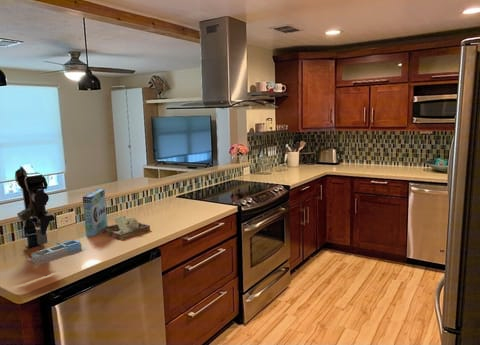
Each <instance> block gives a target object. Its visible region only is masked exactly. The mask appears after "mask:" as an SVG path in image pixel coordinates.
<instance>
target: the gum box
mask: <svg viewBox="0 0 480 345" xmlns="http://www.w3.org/2000/svg"><path fill="white" fill-rule="evenodd" d="M105 194H106V193H105V189H99V188H98V189H95V190H93V191H92V192H90V193H88V194H86V195H84V196H82V207H83V217H84V227H85V237H87V238H88V237H92V238H93V237H96V236H97V235H98V234H99V233H100V232H102V228H105V227H108V218H107V217H108V216H107V204H106V203H107V202H106V197H105V196H106V195H105Z"/></svg>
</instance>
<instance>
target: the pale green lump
mask: <svg viewBox="0 0 480 345" xmlns="http://www.w3.org/2000/svg"><path fill="white" fill-rule="evenodd" d="M114 222H115V223H116V224H117V225H118V227H119V229H118V230H119V231H120V233H121V234H122V233H125V232H128V231H132V230H135V229H138V227H139V223H140V222H139V221H138V220H137V219H136V217H133V216H132V217H129V218H127V217H126V215H120V216H117V217H115V218H114ZM138 222H139V223H138Z"/></svg>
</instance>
